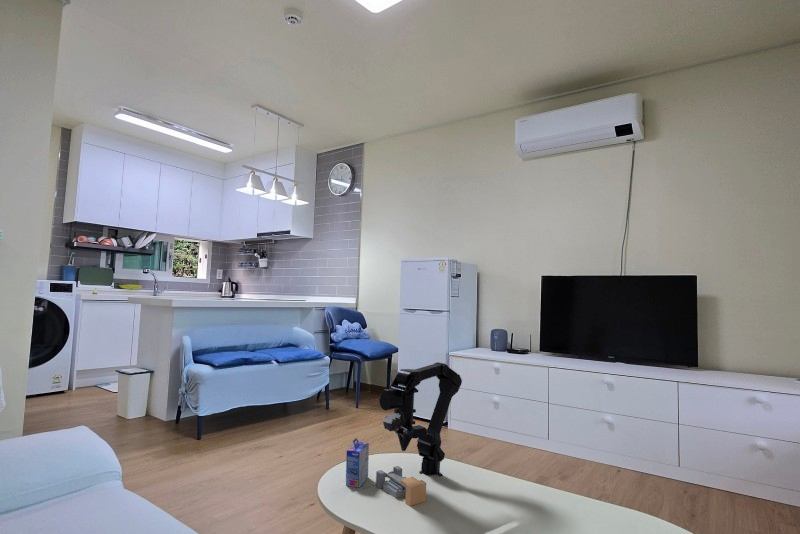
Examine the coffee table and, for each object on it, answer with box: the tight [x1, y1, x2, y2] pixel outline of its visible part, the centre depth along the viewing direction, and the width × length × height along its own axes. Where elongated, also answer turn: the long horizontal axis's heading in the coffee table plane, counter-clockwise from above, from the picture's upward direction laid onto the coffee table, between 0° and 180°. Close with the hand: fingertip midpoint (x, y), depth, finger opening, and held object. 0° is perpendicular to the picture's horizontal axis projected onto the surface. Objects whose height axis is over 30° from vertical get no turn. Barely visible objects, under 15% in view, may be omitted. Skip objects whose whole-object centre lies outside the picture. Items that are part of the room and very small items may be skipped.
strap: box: [385, 470, 406, 488], centre depth 146 cm, size 3×13×1 cm, turn 36°
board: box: [362, 465, 408, 499], centre depth 143 cm, size 18×23×6 cm
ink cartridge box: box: [345, 437, 370, 489], centre depth 155 cm, size 10×6×14 cm, turn 165°
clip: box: [400, 476, 427, 507], centre depth 140 cm, size 6×6×6 cm
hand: (403, 450), depth 153 cm, fingers closed
